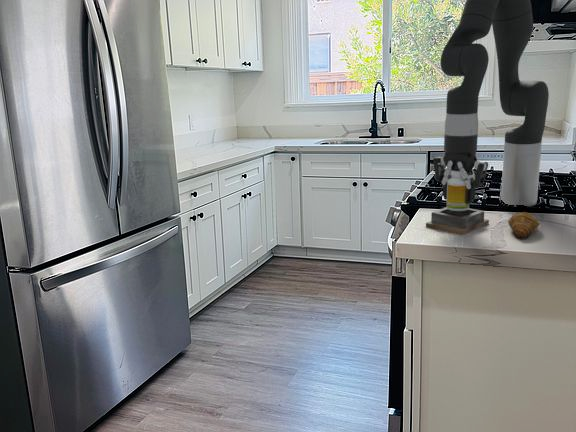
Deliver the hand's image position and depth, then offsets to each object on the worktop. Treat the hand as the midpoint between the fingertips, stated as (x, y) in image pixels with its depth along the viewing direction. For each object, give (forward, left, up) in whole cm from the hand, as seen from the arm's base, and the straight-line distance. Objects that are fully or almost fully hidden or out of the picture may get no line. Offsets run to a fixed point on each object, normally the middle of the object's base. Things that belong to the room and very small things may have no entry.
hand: (458, 200), depth 127 cm
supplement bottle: (0, 0, -2) cm, 2 cm away
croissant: (-6, +14, -7) cm, 17 cm away
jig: (0, 0, -6) cm, 6 cm away
